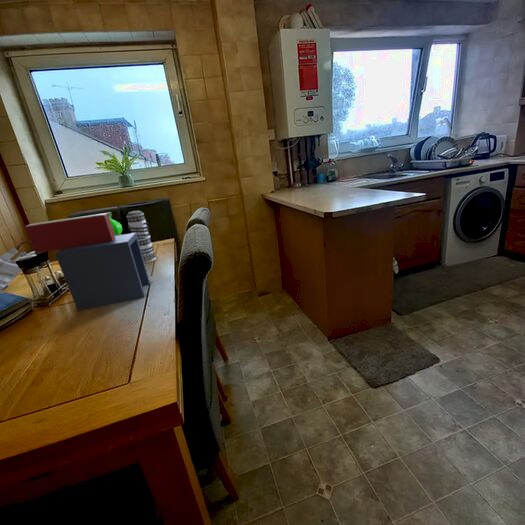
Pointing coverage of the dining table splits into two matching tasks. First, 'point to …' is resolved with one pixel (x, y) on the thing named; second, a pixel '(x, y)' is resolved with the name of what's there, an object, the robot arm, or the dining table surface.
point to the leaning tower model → (141, 234)
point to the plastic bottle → (115, 225)
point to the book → (70, 232)
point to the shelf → (104, 271)
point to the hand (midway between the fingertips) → (20, 251)
